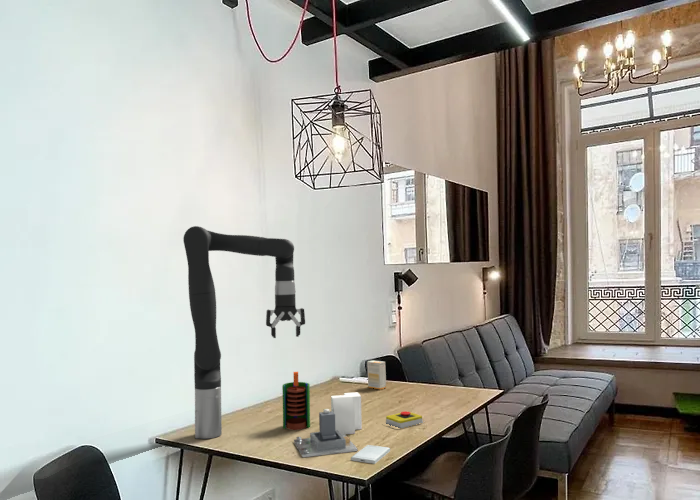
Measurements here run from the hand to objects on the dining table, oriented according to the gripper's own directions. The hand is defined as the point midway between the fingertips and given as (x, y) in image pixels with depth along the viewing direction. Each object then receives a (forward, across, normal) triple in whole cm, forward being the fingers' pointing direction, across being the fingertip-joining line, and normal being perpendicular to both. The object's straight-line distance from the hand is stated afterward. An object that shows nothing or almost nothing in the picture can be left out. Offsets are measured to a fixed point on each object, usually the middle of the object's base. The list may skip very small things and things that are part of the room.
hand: (285, 337), depth 198 cm
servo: (+33, -10, +22) cm, 41 cm away
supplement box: (+34, -53, -55) cm, 84 cm away
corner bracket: (+34, -21, +6) cm, 41 cm away
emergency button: (+35, -43, +6) cm, 56 cm away
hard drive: (+35, -21, +35) cm, 54 cm away
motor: (+34, -4, -4) cm, 35 cm away
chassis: (+34, -9, +22) cm, 42 cm away
